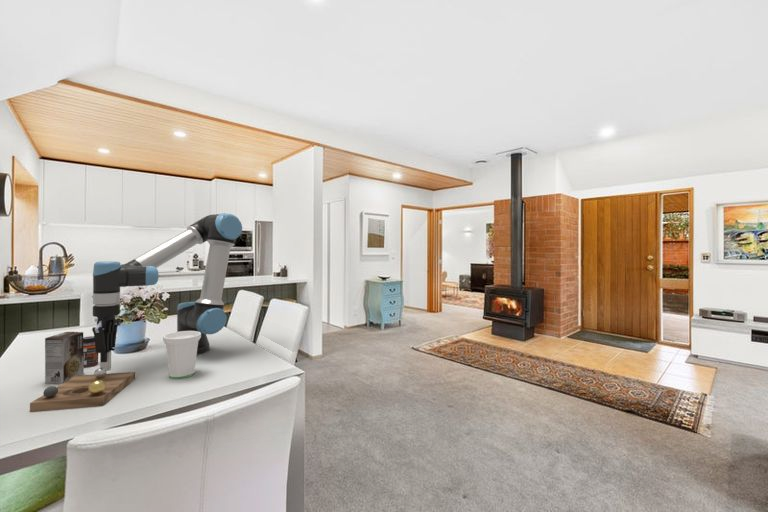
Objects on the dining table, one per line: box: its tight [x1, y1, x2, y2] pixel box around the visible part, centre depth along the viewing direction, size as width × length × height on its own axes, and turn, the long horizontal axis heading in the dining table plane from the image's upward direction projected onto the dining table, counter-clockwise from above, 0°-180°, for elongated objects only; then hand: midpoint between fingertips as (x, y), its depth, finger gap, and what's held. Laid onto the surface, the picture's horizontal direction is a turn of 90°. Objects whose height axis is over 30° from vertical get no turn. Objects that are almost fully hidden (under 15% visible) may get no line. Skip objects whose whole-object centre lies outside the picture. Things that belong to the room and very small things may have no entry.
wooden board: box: [29, 371, 136, 412], centre depth 111 cm, size 22×18×2 cm
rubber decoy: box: [43, 385, 58, 397], centre depth 103 cm, size 3×3×3 cm
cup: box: [162, 331, 201, 380], centre depth 129 cm, size 12×12×15 cm
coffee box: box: [44, 331, 85, 385], centre depth 123 cm, size 9×6×16 cm
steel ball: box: [93, 367, 108, 378], centre depth 118 cm, size 3×3×3 cm
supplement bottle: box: [83, 335, 99, 368], centre depth 137 cm, size 6×6×11 cm
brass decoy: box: [88, 380, 106, 395], centre depth 105 cm, size 4×4×4 cm
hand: (105, 370), depth 122 cm, fingers closed
